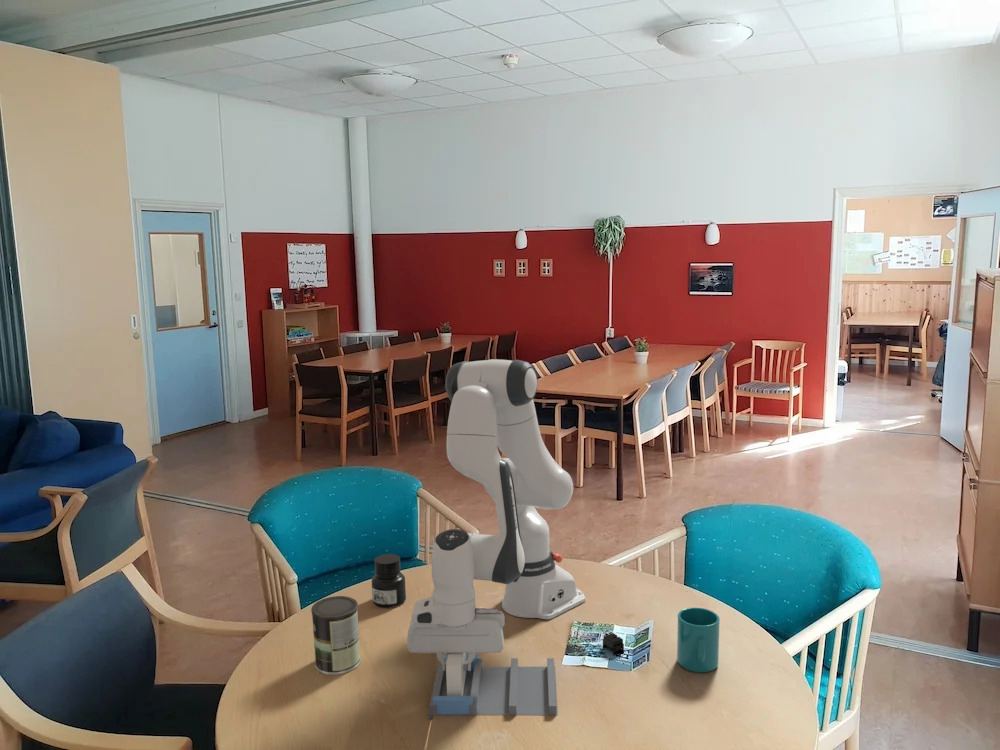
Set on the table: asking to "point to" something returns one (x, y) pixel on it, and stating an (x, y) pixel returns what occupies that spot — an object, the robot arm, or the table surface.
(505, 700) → the board
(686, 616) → the cup
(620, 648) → the black notched block
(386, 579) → the ink bottle
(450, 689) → the plug block
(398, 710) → the table surface
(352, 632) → the coffee can
